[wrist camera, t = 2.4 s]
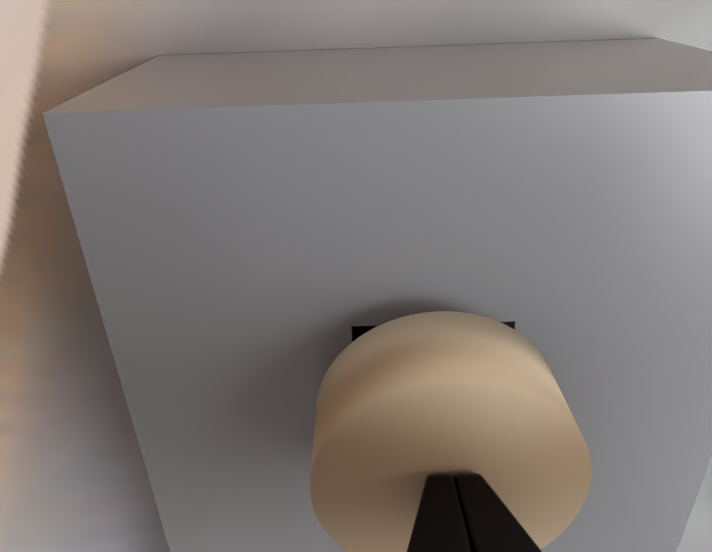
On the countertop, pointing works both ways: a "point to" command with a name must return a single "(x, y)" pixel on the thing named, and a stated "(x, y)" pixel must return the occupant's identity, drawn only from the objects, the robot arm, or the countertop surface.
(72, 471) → the countertop surface
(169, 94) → the housing
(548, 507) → the cap
